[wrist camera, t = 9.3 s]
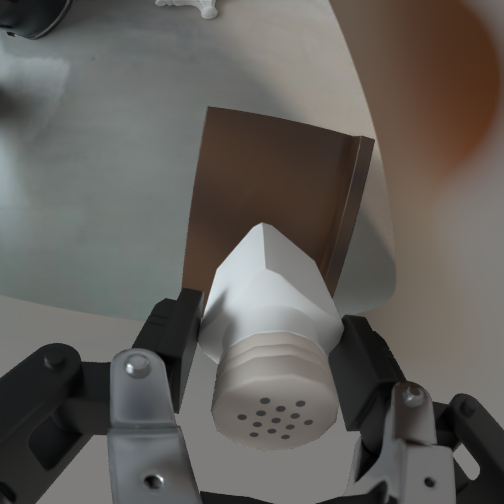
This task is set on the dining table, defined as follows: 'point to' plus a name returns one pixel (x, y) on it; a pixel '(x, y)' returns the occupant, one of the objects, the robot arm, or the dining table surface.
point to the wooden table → (273, 191)
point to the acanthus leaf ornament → (204, 3)
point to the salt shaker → (271, 344)
